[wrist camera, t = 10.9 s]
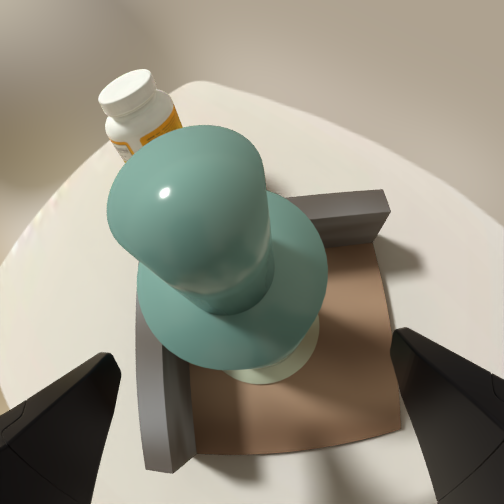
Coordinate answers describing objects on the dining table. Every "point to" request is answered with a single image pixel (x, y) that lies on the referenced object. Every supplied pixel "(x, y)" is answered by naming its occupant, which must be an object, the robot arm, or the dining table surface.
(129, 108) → the supplement bottle
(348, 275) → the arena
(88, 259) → the dining table surface
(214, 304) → the teal bottle
